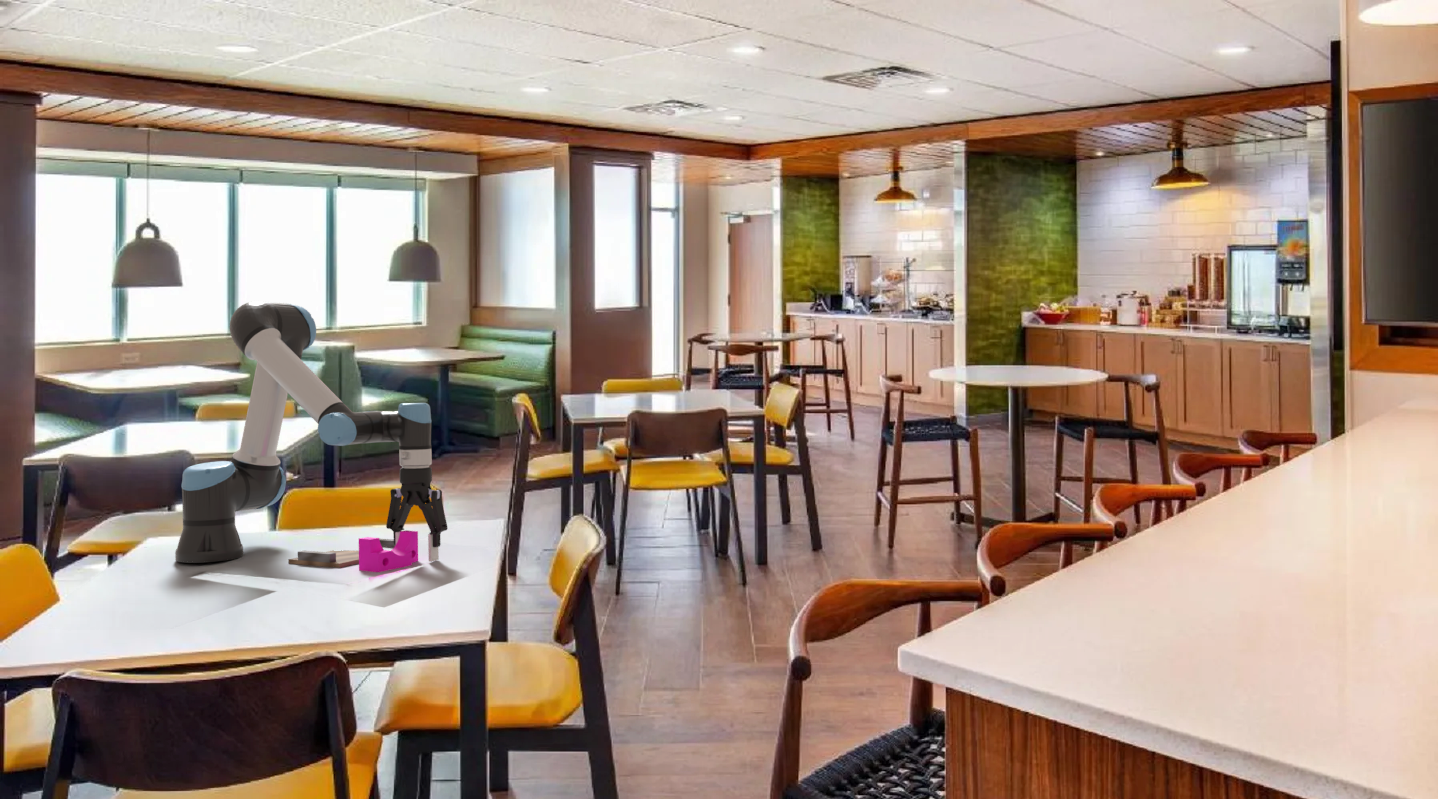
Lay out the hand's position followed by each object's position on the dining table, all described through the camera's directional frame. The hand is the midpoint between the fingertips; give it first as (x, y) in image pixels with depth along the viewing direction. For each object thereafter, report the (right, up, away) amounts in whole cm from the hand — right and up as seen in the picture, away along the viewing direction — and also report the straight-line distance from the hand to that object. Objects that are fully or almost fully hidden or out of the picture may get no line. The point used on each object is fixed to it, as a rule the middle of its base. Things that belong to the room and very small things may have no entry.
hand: (417, 559), depth 257 cm
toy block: (-3, -1, -8) cm, 8 cm away
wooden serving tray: (-18, 0, +5) cm, 18 cm away
